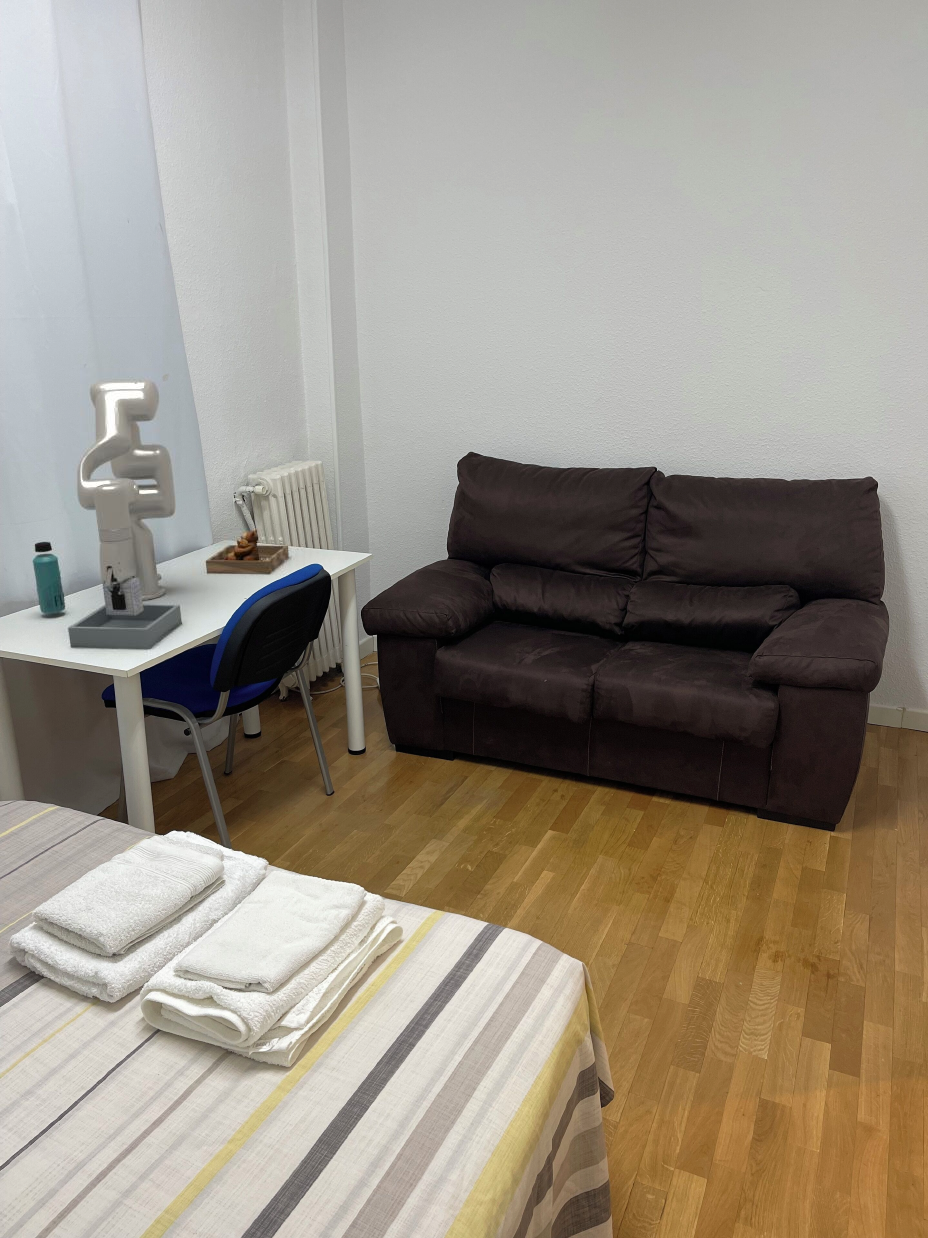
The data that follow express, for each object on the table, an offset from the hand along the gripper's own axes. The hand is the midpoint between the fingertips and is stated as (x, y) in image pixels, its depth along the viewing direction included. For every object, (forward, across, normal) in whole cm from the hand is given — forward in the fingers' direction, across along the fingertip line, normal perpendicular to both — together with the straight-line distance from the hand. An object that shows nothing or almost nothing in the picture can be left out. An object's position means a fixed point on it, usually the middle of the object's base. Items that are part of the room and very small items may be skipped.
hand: (124, 605), depth 240 cm
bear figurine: (+8, -68, +8) cm, 68 cm away
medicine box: (+2, 0, 0) cm, 2 cm away
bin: (+8, 0, 0) cm, 8 cm away
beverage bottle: (+8, -15, -28) cm, 33 cm away
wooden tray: (+7, -70, +8) cm, 71 cm away
